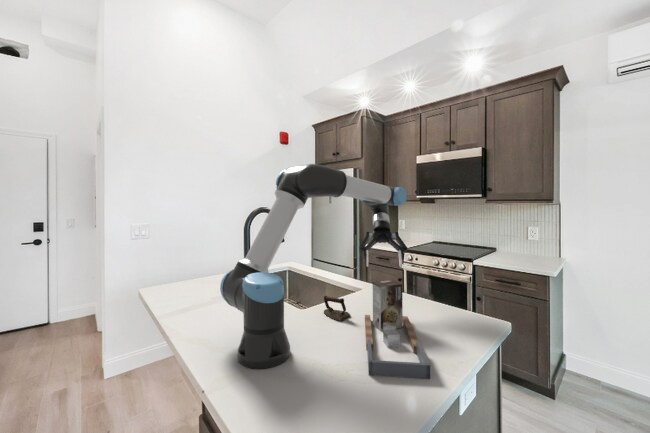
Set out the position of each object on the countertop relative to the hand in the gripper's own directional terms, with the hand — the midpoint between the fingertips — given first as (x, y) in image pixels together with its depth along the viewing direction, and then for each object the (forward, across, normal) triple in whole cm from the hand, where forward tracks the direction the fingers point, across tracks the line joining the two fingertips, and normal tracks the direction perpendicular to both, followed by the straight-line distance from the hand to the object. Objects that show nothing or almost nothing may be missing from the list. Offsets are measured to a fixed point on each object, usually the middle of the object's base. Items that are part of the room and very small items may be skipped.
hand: (384, 265), depth 120 cm
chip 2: (+33, 0, +5) cm, 33 cm away
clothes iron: (+18, +20, -11) cm, 29 cm away
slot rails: (+28, 0, 0) cm, 28 cm away
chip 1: (+29, 0, +1) cm, 29 cm away
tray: (+41, 0, +13) cm, 43 cm away
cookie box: (+23, 0, -5) cm, 24 cm away
